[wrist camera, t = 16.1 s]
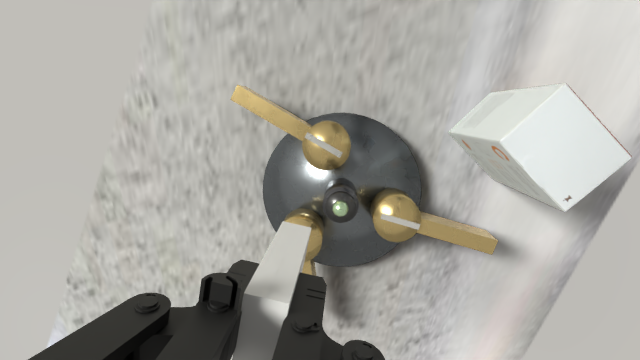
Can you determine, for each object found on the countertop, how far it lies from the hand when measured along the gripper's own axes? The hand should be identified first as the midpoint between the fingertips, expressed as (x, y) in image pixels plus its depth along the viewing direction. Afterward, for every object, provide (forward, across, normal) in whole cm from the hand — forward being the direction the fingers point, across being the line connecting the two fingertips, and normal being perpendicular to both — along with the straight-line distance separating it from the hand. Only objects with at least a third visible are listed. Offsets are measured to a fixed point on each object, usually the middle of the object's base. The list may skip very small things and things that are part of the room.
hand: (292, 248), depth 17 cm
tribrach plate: (+23, +3, -3) cm, 24 cm away
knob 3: (+21, +13, -3) cm, 25 cm away
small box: (+24, +18, +7) cm, 31 cm away
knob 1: (+21, -4, +4) cm, 22 cm away
